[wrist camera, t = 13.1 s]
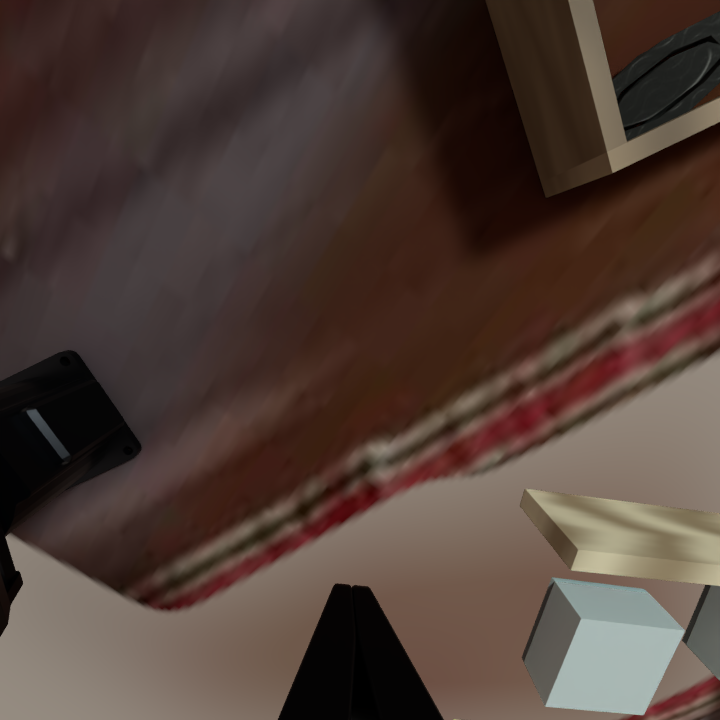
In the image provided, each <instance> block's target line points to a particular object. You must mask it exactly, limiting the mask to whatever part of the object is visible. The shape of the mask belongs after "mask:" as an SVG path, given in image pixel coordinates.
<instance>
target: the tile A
mask: <svg viewBox="0 0 720 720" xmlns="http://www.w3.org/2000/svg"><path fill="white" fill-rule="evenodd" d="M684 632H685V630H684V629H683V628H682V627H681V626H680V625H679V624H678V623H677V622H676V621H675V620H674V619H673V618H672V617H671V616H670V615H669V614H668V613H667V612H666V610H665V609H664V608H662V606H661V605H660V604H659V603H658V602H657V601H656V600H655V599H654V598H653V597H652V596H651V595H650V594H649V593H648V592H647V591H646V590H645V589H641V588H633V587H625V586H617V585H609V584H602V583H594V582H585V581H577V580H570V579H562V578H554V577H552V578H551V581H550V583H549V586H548V589H547V591H546V594H545V597H544V599H543V602H542V604H541V607H540V610H539V613H538V615H537V618H536V620H535V623H534V626H533V628H532V631H531V634H530V636H529V639H528V642H527V644H526V647H525V649H524V652H523V655H522V660H523V662H524V664H525V666H526V668H527V670H528V672H529V674H530V676H531V678H532V680H533V683H534V685H535V687H536V689H537V691H538V693H539V695H540V697H541V699H542V701H543V703H544V705H545V707H556V708H567V709H579V710H590V711H602V712H614V713H624V714H636V715H644V713H645V711H646V709H647V707H648V705H649V703H650V701H651V699H652V697H653V695H654V693H655V691H656V689H657V687H658V685H659V683H660V681H661V679H662V677H663V674H664V672H665V671H666V669H667V666H668V664H669V663H670V660H671V659H672V657H673V655H674V653H675V650H676V648H677V646H678V644H679V642H680V640H681V638H682V636H683V634H684Z"/></svg>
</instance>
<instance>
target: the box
mask: <svg viewBox="0 0 720 720" xmlns="http://www.w3.org/2000/svg"><path fill="white" fill-rule="evenodd" d="M520 507H521V508H522V509H523V510H524V512H525V513H526V514H527V516H528V517H529V518H530V519H531V520H532V522H533V523H534V524H535V526H536V527H537V528H538V529H539V531H540V532H541V533H542V534H543V536H544V537H545V538H546V540H547V541H548V542H549V543H550V545H551V546H552V547H553V548H554V550H555V551H556V552H557V553H558V555H559V556H560V557H561V559H562V560H563V561H564V562H565V564H566V565H567V566H568V567H569V569H570V570H573V571H581V572H591V573H601V574H610V575H620V576H629V577H639V578H648V579H659V580H667V581H677V582H686V583H696V584H705V585H715V586H720V513H712V512H704V511H697V510H689V509H681V508H672V507H664V506H657V505H648V504H641V503H634V502H625V501H618V500H610V499H602V498H594V497H586V496H578V495H571V494H563V493H554V492H547V491H539V490H531V489H525V490H524V493H523V497H522V500H521V503H520ZM453 720H459V719H453Z"/></svg>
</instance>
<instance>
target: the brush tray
mask: <svg viewBox="0 0 720 720" xmlns="http://www.w3.org/2000/svg"><path fill="white" fill-rule="evenodd" d="M485 1H486V4H487V7H488V11H489V14H490V17H491V20H492V24H493V27H494V30H495V34H496V37H497V40H498V43H499V47H500V50H501V53H502V56H503V60H504V63H505V66H506V70H507V73H508V76H509V79H510V83H511V86H512V89H513V92H514V96H515V99H516V102H517V106H518V109H519V112H520V115H521V119H522V122H523V125H524V128H525V132H526V135H527V138H528V142H529V145H530V148H531V151H532V155H533V158H534V161H535V164H536V168H537V171H538V174H539V177H540V181H541V184H542V187H543V191H544V194H545V197H546V198H548V197H550V196H553V195H556V194H558V193H561V192H564V191H566V190H569V189H572V188H574V187H577V186H580V185H582V184H585V183H588V182H590V181H593V180H596V179H598V178H601V177H604V176H606V175H609V174H612V173H614V172H616V171H618V170H620V169H622V168H625V167H627V166H629V165H631V164H633V163H635V162H637V161H639V160H641V159H643V158H645V157H647V156H650V155H652V154H654V153H656V152H658V151H660V150H662V149H664V148H666V147H668V146H670V145H673V144H675V143H677V142H679V141H681V140H683V139H685V138H687V137H689V136H691V135H693V134H696V133H698V132H700V131H702V130H704V129H706V128H708V127H710V126H712V125H714V124H716V123H718V122H720V96H719V97H717V98H715V99H713V100H711V101H709V102H707V103H705V104H703V105H701V106H699V107H697V108H695V109H692V110H690V111H689V112H687V113H685V114H683V115H681V116H679V117H677V118H675V119H672V120H670V121H668V122H666V123H664V124H662V125H660V126H658V127H656V128H654V129H652V130H649V131H647V132H645V133H643V134H641V135H639V136H637V137H635V138H633V139H631V140H629V141H627V140H626V136H625V132H624V128H623V124H622V120H621V115H620V111H619V107H618V103H617V99H616V95H615V91H614V87H613V82H612V78H611V74H610V70H609V66H608V62H607V58H606V53H605V49H604V45H603V41H602V37H601V33H600V29H599V25H598V20H597V16H596V12H595V8H594V4H593V0H485Z"/></svg>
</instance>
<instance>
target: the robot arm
mask: <svg viewBox="0 0 720 720" xmlns="http://www.w3.org/2000/svg"><path fill="white" fill-rule="evenodd" d="M66 357H68V358H69V359H70V364H68V363H67V362H66ZM127 446H129V447H131V448H132V450H133V451H130V450H128V448H127ZM140 451H141V444H140V443H139V441H138V440H137V438H136V437H135V435H134V434H133V432H132V431H131V430H130V428H129V427H128V425H127V424H126V422H125V421H124V419H123V417H122V416H121V414H120V413H119V411H118V410H117V408H116V407H115V406H114V404H113V403H112V401H111V400H110V398H109V397H108V395H107V394H106V393H105V391H104V390H103V388H102V387H101V385H100V384H99V382H97V380H96V379H95V378H94V376H93V375H92V373H91V372H90V370H89V369H88V367H87V366H86V365H85V363H84V362H83V360H82V359H81V357H80V356H79V355H78V354H77V353H76V352H74V351H71V350H67V351H63V352H60V353H57V354H55V355H53V356H51V357H49V358H47V359H45V360H43V361H41V362H39V363H37V364H35V365H33V366H31V367H29V368H27V369H25V370H23V371H21V372H19V373H17V374H14V375H12V376H10V377H8V378H6V379H4V380H2V381H0V636H1V635H2V633H3V631H4V629H5V628H6V626H7V625H8V620H9V612H10V606H11V603H12V601H13V600H14V598H15V597H16V595H17V593H18V592H19V590H20V588H21V586H22V585H23V581H22V577H21V574H20V572H19V571H16V570H15V567H14V564H13V561H12V557H11V555H10V551H9V548H8V545H7V541H6V538H5V536H7V535H8V534H9V533H11V532H12V531H13V530H14V529H16V528H17V527H18V526H20V525H21V524H22V523H23V522H25V521H26V520H27V519H28V518H30V517H31V516H32V515H34V514H35V513H36V512H37V511H39V510H40V509H41V508H43V507H44V506H45V505H46V504H48V503H49V502H50V501H51V500H53V499H54V498H55V497H57V496H58V495H59V494H60V493H62V492H63V491H64V490H67V489H69V488H71V487H73V486H75V485H77V484H79V483H81V482H84V481H86V480H88V479H90V478H92V477H94V476H96V475H98V474H101V473H103V472H105V471H107V470H109V469H111V468H113V467H115V466H118V465H120V464H122V463H124V462H126V461H128V460H130V459H132V458H134V457H135V456H137V455H138V454H139V453H140ZM278 720H444V719H443V717H442V716H441V714H440V712H439V710H438V708H437V707H436V705H435V703H434V701H433V699H432V698H431V696H430V694H429V692H428V691H427V689H426V687H425V685H424V683H423V682H422V680H421V678H420V676H419V674H418V673H417V671H416V669H415V667H414V666H413V664H412V662H411V660H410V659H409V657H408V655H407V653H406V651H405V649H404V648H403V646H402V644H401V643H400V641H399V639H398V637H397V635H396V633H395V632H394V630H393V628H392V626H391V624H390V623H389V621H388V619H387V617H386V616H385V614H384V612H383V610H382V608H381V607H380V605H379V603H378V601H377V599H376V598H375V596H374V594H373V592H372V591H371V589H370V588H369V587H367V586H357V585H354V586H352V587H351V586H350V585H347V584H335V585H334V586H333V588H332V591H331V593H330V595H329V598H328V600H327V603H326V605H325V607H324V610H323V612H322V615H321V618H320V620H319V622H318V624H317V627H316V629H315V631H314V634H313V636H312V639H311V641H310V644H309V646H308V648H307V651H306V653H305V655H304V658H303V660H302V663H301V665H300V667H299V670H298V672H297V675H296V677H295V679H294V682H293V684H292V687H291V689H290V692H289V694H288V696H287V699H286V701H285V703H284V706H283V708H282V711H281V713H280V716H279V718H278Z"/></svg>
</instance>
